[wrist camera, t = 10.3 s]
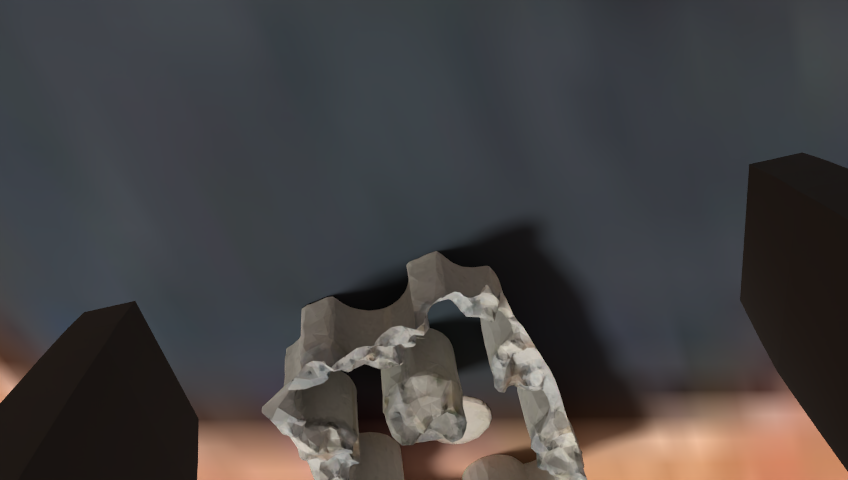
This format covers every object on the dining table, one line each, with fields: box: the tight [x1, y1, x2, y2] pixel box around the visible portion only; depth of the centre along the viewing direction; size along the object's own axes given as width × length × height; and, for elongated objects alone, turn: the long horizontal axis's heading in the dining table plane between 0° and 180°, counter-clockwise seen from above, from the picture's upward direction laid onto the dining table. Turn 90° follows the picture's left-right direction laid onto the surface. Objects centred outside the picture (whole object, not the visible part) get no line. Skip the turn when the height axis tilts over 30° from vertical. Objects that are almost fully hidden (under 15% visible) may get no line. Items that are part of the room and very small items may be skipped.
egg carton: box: [262, 251, 587, 480], centre depth 23 cm, size 11×8×4 cm
